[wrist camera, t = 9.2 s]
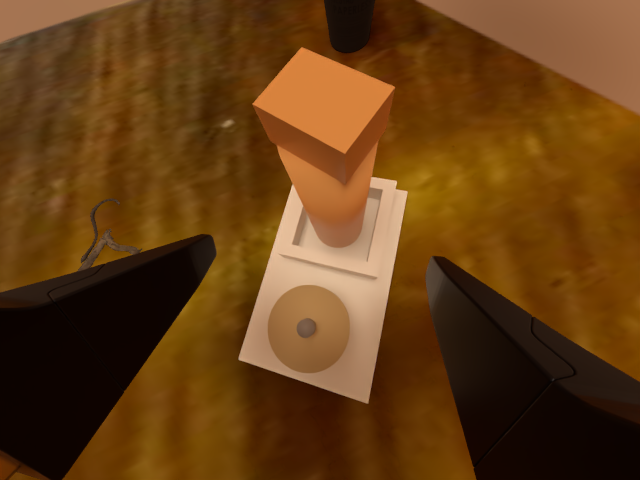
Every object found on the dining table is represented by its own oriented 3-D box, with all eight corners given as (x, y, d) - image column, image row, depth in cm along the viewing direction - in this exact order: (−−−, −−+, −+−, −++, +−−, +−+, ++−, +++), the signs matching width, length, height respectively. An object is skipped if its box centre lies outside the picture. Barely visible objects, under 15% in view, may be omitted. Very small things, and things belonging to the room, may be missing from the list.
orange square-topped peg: (344, 257, 21) (337, 173, 7) (305, 231, 22) (236, 115, 8) (371, 218, 21) (411, 75, 8) (332, 194, 22) (308, 33, 9)
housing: (366, 397, 19) (373, 432, 14) (244, 356, 21) (210, 373, 16) (404, 197, 23) (420, 167, 18) (298, 178, 25) (285, 147, 20)
